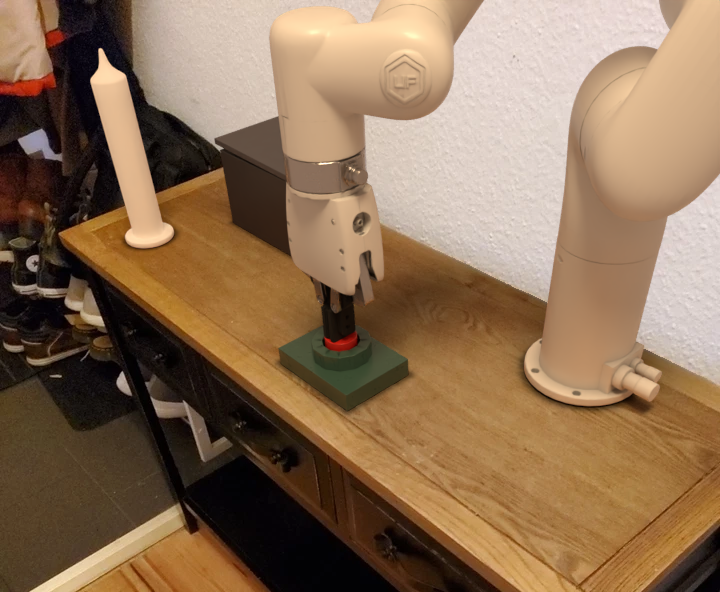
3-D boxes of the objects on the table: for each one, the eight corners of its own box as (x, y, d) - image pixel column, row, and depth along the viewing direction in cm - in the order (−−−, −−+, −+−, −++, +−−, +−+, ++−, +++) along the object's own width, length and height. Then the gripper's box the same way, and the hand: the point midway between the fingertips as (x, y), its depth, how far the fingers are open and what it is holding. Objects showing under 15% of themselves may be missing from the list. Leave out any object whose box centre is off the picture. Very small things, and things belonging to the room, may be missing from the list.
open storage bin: (232, 222, 111) (219, 149, 104) (293, 197, 116) (285, 126, 109) (295, 258, 103) (286, 181, 95) (358, 229, 108) (354, 154, 100)
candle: (182, 238, 109) (137, 48, 91) (137, 253, 106) (82, 61, 88) (162, 221, 113) (116, 36, 95) (119, 235, 110) (63, 48, 92)
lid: (214, 144, 104) (213, 138, 103) (280, 120, 109) (280, 115, 108) (286, 181, 95) (285, 175, 94) (354, 154, 100) (354, 148, 100)
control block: (408, 375, 83) (408, 345, 80) (347, 411, 79) (345, 381, 76) (339, 332, 90) (337, 303, 87) (280, 363, 86) (275, 334, 83)
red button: (364, 347, 82) (363, 334, 81) (339, 361, 80) (338, 348, 79) (343, 334, 84) (342, 321, 83) (318, 347, 82) (317, 334, 81)
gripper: (411, 177, 65) (412, 349, 78) (307, 134, 74) (323, 296, 87) (347, 205, 62) (358, 379, 75) (246, 157, 70) (272, 322, 84)
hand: (340, 334), depth 81 cm, fingers closed
